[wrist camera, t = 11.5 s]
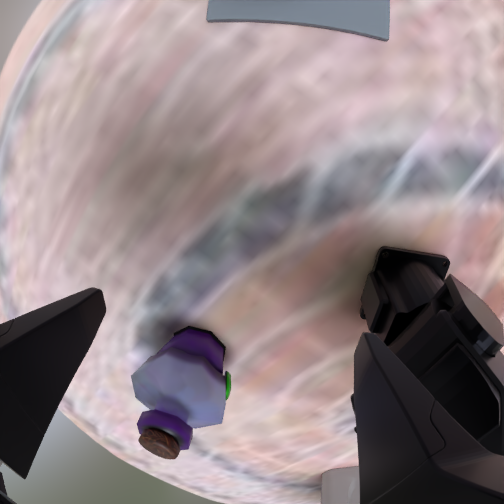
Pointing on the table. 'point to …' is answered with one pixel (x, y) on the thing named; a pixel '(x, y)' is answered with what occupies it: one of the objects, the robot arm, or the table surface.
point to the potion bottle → (181, 391)
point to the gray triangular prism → (341, 486)
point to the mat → (309, 14)
